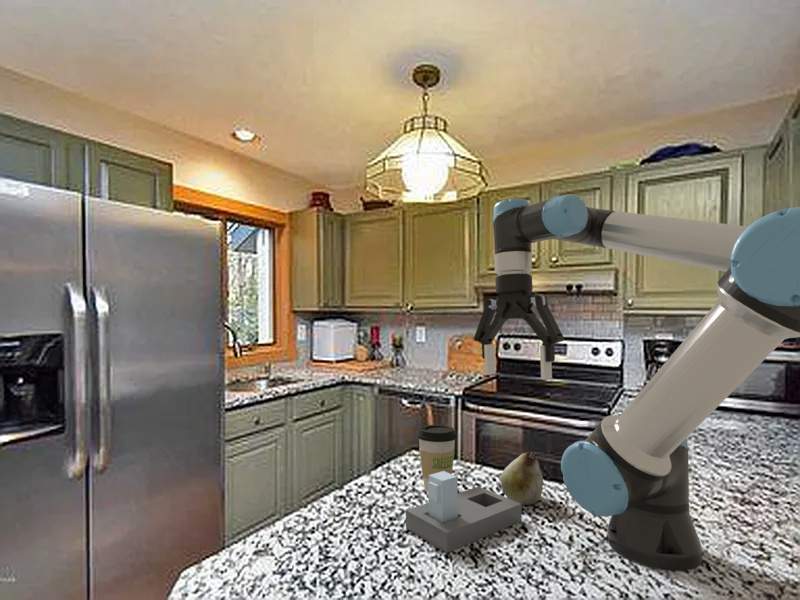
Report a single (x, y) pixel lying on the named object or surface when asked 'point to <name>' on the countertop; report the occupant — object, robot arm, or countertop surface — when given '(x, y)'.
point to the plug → (443, 496)
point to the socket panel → (465, 519)
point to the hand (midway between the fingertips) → (517, 376)
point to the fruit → (523, 479)
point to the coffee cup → (436, 450)
